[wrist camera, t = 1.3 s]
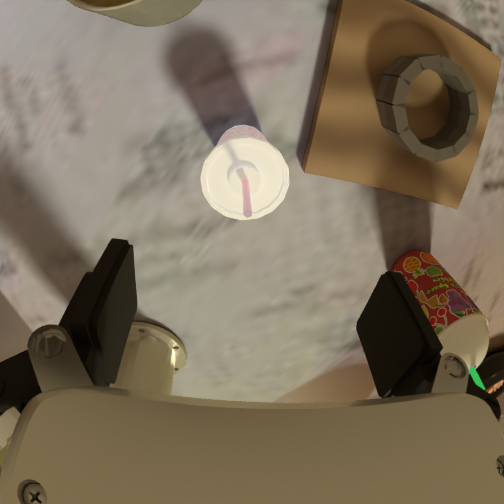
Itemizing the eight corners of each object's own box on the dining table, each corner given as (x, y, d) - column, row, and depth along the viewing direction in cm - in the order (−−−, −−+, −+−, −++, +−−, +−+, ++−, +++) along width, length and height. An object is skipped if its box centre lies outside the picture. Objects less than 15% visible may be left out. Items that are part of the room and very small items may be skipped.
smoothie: (443, 243, 36) (528, 355, 19) (421, 291, 40) (484, 404, 24) (394, 238, 35) (479, 370, 18) (374, 291, 39) (431, 421, 23)
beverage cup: (278, 120, 27) (313, 165, 15) (270, 179, 30) (294, 262, 19) (212, 114, 26) (191, 155, 15) (208, 175, 30) (191, 257, 18)
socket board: (450, 203, 32) (473, 223, 28) (301, 167, 30) (312, 186, 26) (493, 58, 22) (522, 63, 17) (342, -20, 19) (361, -33, 15)
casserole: (520, 328, 51) (536, 353, 44) (505, 366, 61) (517, 387, 54) (438, 375, 56) (451, 405, 49) (433, 405, 65) (443, 430, 58)
